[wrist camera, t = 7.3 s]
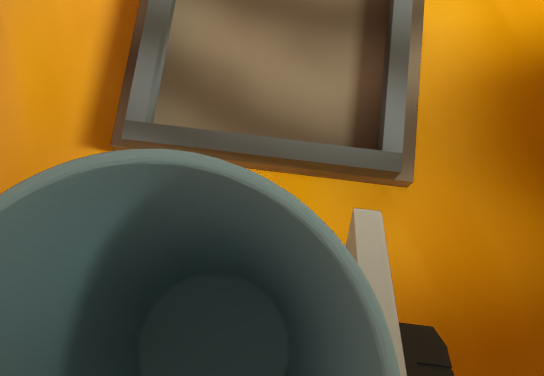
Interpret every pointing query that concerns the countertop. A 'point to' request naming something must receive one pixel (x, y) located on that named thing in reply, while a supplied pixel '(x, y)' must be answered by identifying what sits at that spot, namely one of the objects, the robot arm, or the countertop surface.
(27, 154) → the countertop surface
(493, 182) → the countertop surface
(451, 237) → the countertop surface
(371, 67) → the dock
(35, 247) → the cup
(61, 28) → the countertop surface
